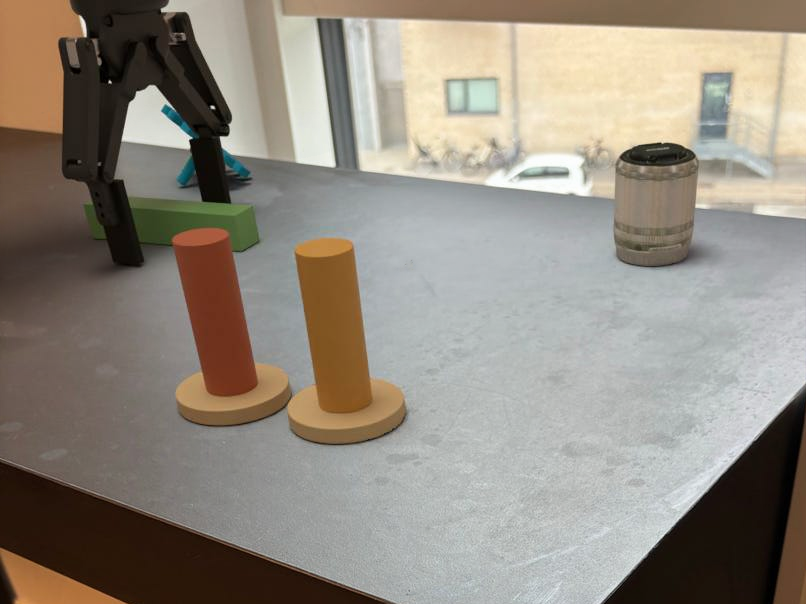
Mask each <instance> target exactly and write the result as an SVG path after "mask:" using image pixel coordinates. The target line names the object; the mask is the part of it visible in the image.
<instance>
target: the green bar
mask: <svg viewBox="0 0 806 604" xmlns="http://www.w3.org/2000/svg"><path fill="white" fill-rule="evenodd" d="M128 200H129V204H130V208H131V212H132V215H133V219H134V223H135V227H136V231H137V235H138V238H139V242H140V243H141V242H142V243H143V244H153V245H163V246H164V245H165V246H173V244H172V239H173V237H174V236H176V235H178V234H180V233H182V232H185V231H189V230H194V229H201V228H219V229H223V230H226V231H227V232H228V233H229V236H230V241H231V246H232V251H233V252H240V253H241V252H243V251H245V250H246V249H248V248H250V247H252V246H254V245H255V244H257V243H259V242H260V235H259V229H258V223H257V218H256V212H255V207H254V205H250V204H237V203H231V204H225V203H211V202H202V201H195V200H182V199H166V198H155V197H154V198H153V197H141V196H128ZM82 205H83V209H84V213H85V216H86V220H87V223H88V224H87V225H88V227H89V231H90V234H91V237H92V239H96V240H97V239H99V240H107V238H106V235H105V231H104V228H103V225H100V223H99V221H98V220H97V217H96V213H95V210H94V206H93V203H92V199H91V200H89V201H87V202H85V203H83V204H82ZM142 243H141V244H142Z"/></svg>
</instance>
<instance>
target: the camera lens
mask: <svg viewBox="0 0 806 604" xmlns="http://www.w3.org/2000/svg"><path fill="white" fill-rule="evenodd" d="M614 167H615V171H614V175H615V176H614V198H613V199H614V201H613V240H614V246H615V251H616V256H617V258H618V259H619V260H621V261H622V262H624V263H627V264H630V265H635V266H643V267H644V266H645V267H658V266H668V265H672V263H673V264H676V263H680V262H681V261H683V260H684V259H685V258H687V256H688V253H689V249H690V246H691V244H692V239H693V234H694V229H695V216H696V215H695V214H696V203H697V192H698V191H697V190H698V178H699V176H698V175H699V168H700V161H699V159H698V156H697V154H696V153H695V152H694V151H693V150H691V149H690V148H687V147H685V146H683V145H682V144H678V143H675V142H660V141H658V142H651V143H642V144H638V145H635V146H632V147H631V148H628V149H626V150H625V151H623V152H622V153H621V154H620V155H619V156H618V158H617V159H616V161H615V166H614Z"/></svg>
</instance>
